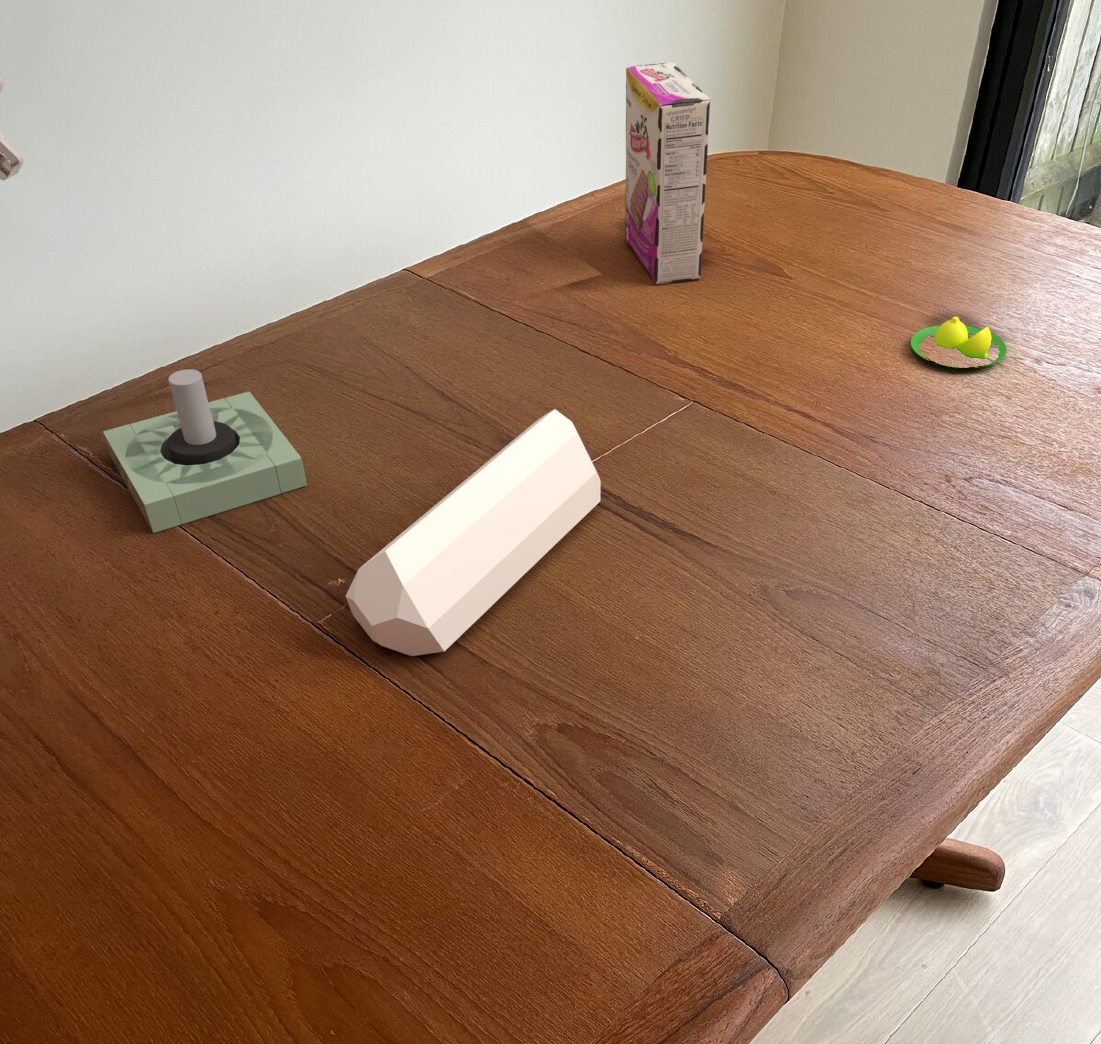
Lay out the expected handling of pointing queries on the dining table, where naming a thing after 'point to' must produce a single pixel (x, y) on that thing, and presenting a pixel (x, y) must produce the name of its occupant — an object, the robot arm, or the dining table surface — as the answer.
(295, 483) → the sink plate
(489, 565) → the crystal
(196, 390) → the stopper
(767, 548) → the dining table surface
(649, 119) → the candy bar box
